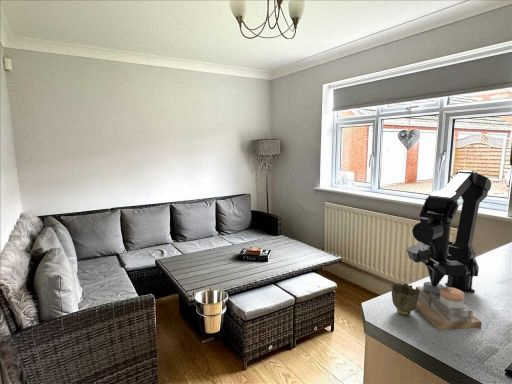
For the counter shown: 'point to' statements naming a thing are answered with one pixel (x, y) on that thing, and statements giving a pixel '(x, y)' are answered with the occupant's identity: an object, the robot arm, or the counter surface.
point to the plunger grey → (432, 288)
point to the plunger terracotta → (452, 298)
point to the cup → (404, 298)
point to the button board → (445, 313)
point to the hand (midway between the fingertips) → (434, 285)
